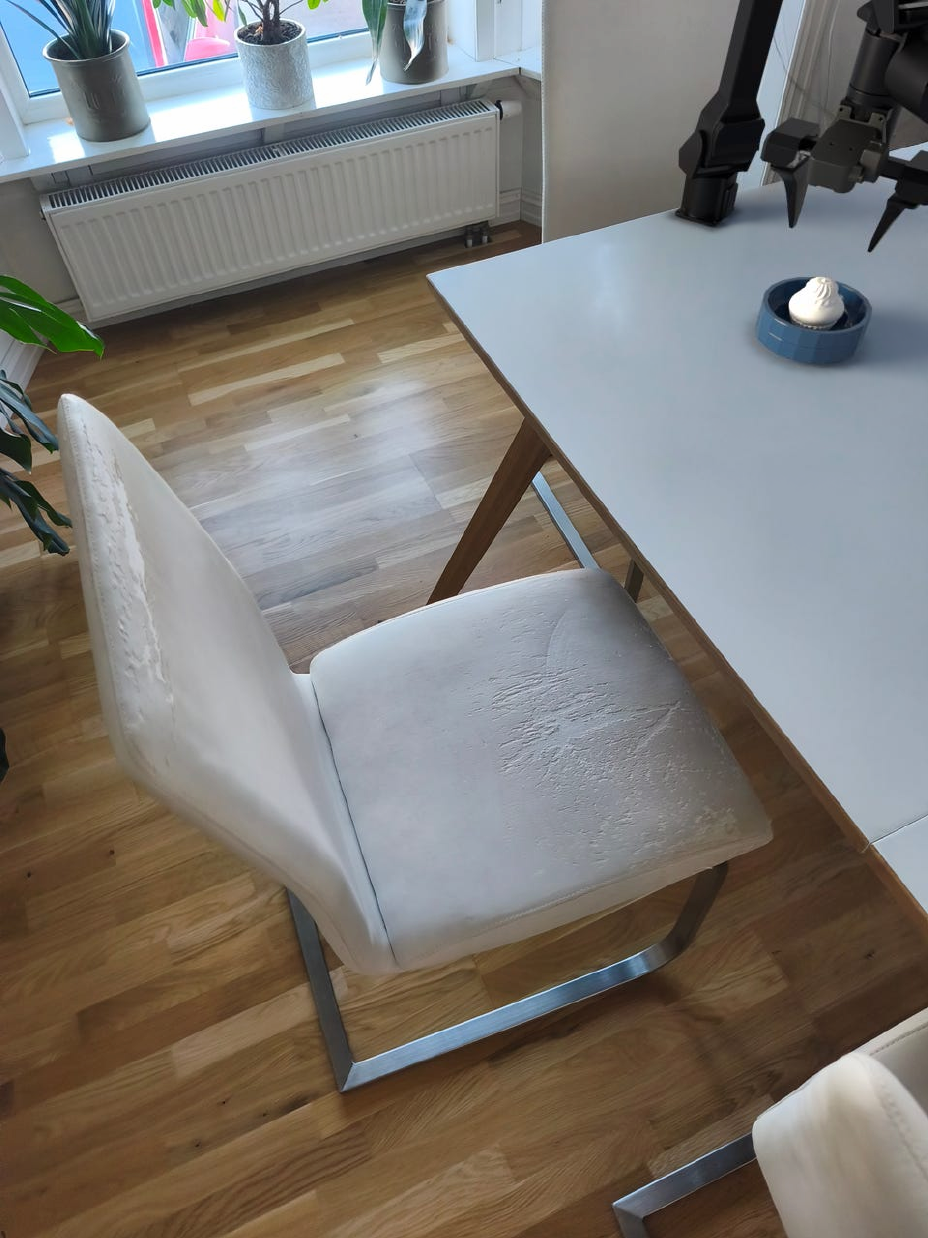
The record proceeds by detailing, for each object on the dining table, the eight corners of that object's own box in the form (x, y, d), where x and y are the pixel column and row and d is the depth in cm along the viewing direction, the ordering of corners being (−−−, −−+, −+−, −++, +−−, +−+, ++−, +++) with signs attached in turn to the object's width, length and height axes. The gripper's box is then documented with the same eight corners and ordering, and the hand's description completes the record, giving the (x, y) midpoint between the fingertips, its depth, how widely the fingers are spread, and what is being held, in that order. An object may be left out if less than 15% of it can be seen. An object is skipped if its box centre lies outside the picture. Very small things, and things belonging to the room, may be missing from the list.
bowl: (736, 344, 102) (744, 310, 99) (781, 300, 108) (790, 266, 105) (833, 380, 97) (846, 345, 94) (875, 331, 103) (888, 297, 100)
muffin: (782, 315, 105) (798, 261, 99) (834, 321, 104) (853, 267, 98) (780, 344, 101) (796, 289, 96) (834, 350, 100) (853, 295, 94)
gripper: (754, 90, 83) (721, 243, 96) (946, 136, 76) (883, 297, 88) (803, 55, 89) (766, 204, 101) (987, 95, 81) (923, 251, 93)
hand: (830, 238), depth 96 cm, fingers open, 9 cm apart
